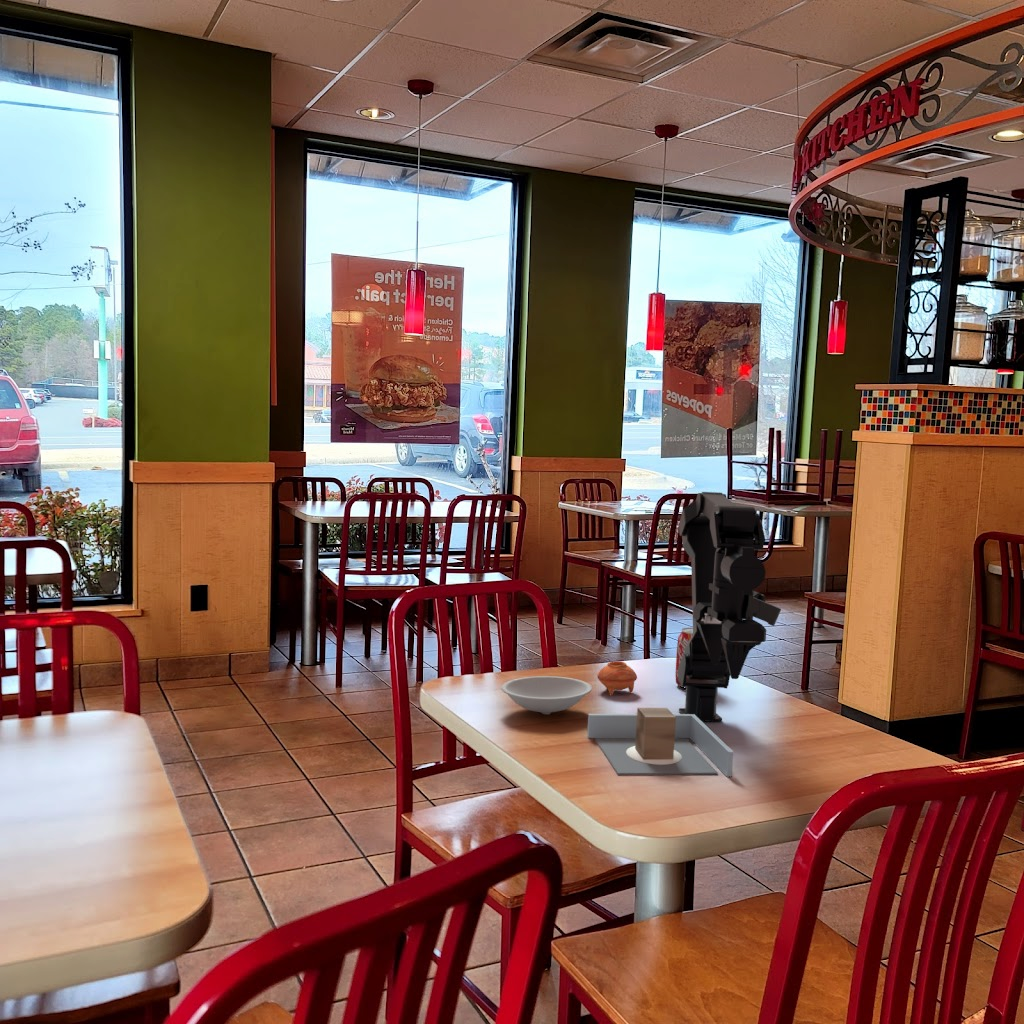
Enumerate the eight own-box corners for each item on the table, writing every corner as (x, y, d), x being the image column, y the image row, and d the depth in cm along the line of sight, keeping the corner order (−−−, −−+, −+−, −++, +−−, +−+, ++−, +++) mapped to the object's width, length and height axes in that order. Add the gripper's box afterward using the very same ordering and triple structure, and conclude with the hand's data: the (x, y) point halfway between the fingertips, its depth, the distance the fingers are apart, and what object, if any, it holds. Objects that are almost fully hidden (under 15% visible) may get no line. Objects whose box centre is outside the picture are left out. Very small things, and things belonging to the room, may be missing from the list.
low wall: (587, 736, 165) (588, 713, 165) (692, 736, 168) (694, 714, 167) (613, 777, 146) (614, 752, 146) (731, 776, 149) (733, 751, 149)
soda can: (709, 693, 195) (712, 635, 194) (674, 689, 197) (677, 632, 196) (709, 684, 202) (712, 628, 201) (675, 681, 204) (678, 625, 203)
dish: (526, 731, 166) (527, 703, 166) (485, 708, 179) (486, 681, 178) (607, 718, 176) (608, 691, 175) (562, 697, 188) (564, 672, 187)
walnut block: (635, 748, 159) (637, 707, 158) (664, 748, 159) (666, 707, 159) (643, 759, 154) (645, 717, 153) (673, 759, 154) (675, 717, 154)
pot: (632, 699, 188) (626, 665, 188) (595, 702, 191) (589, 669, 191) (644, 688, 195) (638, 655, 195) (609, 691, 198) (603, 659, 198)
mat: (595, 740, 163) (595, 737, 163) (685, 740, 165) (685, 737, 165) (617, 775, 147) (618, 772, 147) (717, 774, 150) (717, 771, 150)
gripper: (800, 591, 152) (793, 687, 154) (755, 572, 171) (749, 658, 172) (733, 589, 151) (726, 686, 152) (695, 570, 169) (689, 657, 171)
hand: (724, 671), depth 162 cm, fingers open, 9 cm apart
